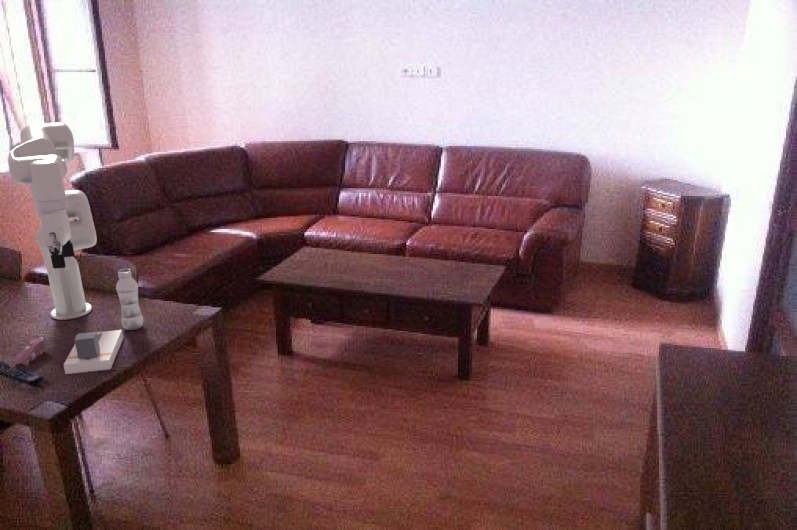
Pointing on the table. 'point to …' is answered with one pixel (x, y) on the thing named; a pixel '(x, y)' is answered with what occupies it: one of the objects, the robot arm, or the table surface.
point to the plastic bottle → (129, 300)
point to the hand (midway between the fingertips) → (64, 262)
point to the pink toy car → (32, 350)
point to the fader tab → (87, 345)
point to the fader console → (105, 358)
